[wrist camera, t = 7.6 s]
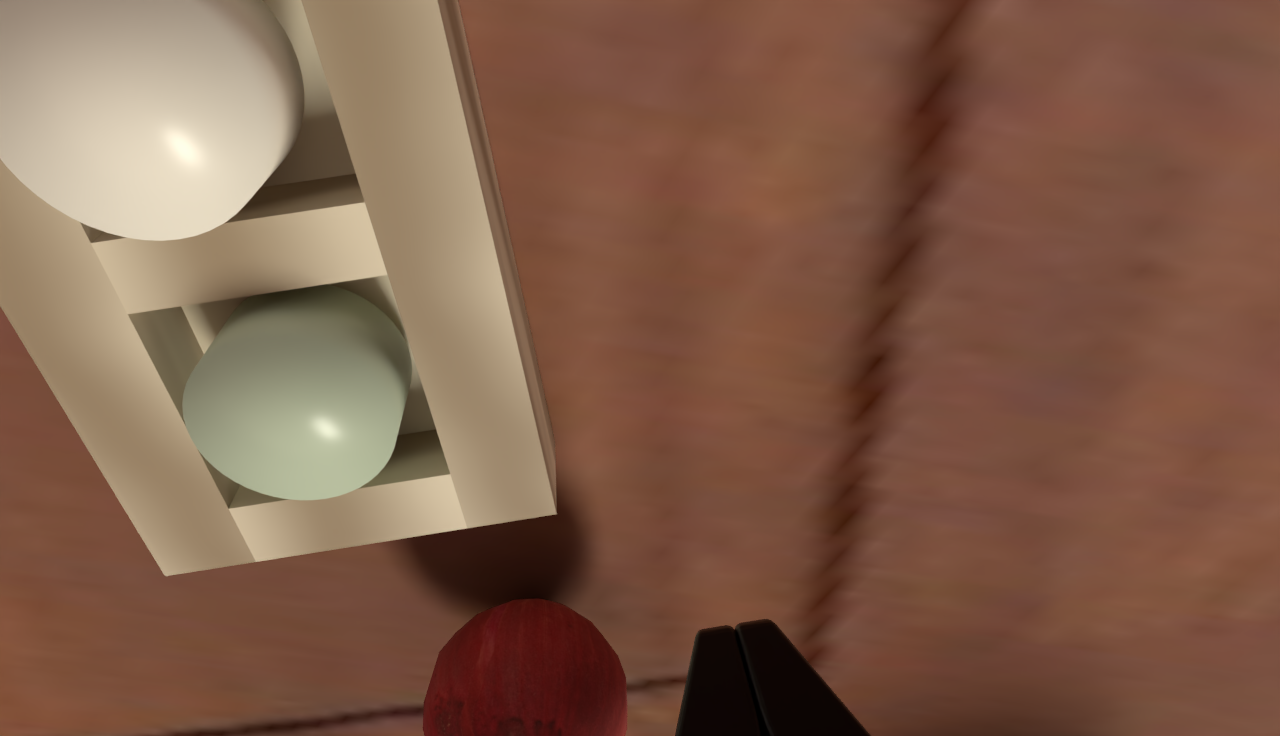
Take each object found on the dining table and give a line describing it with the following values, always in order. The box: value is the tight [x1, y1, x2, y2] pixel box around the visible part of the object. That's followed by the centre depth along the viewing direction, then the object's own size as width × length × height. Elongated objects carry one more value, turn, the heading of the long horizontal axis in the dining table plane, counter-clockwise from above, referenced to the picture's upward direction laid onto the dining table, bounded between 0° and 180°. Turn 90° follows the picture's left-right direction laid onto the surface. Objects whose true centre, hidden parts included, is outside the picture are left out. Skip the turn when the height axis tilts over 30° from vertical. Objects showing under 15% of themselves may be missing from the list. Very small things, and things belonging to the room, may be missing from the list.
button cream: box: [0, 0, 304, 241], centre depth 14 cm, size 4×4×2 cm
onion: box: [423, 598, 627, 736], centre depth 24 cm, size 6×6×8 cm
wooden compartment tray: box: [0, 0, 557, 576], centre depth 16 cm, size 10×23×3 cm, turn 7°
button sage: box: [182, 284, 412, 500], centre depth 19 cm, size 4×4×2 cm
